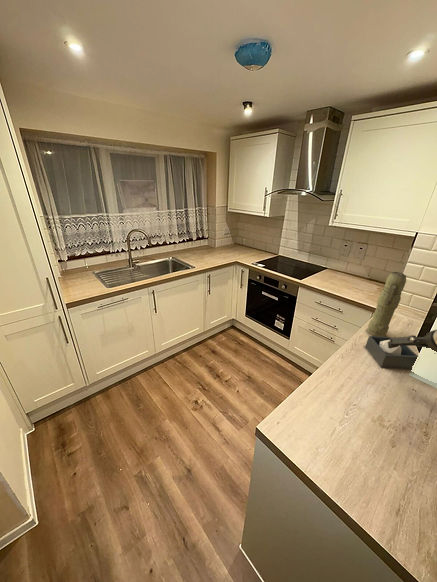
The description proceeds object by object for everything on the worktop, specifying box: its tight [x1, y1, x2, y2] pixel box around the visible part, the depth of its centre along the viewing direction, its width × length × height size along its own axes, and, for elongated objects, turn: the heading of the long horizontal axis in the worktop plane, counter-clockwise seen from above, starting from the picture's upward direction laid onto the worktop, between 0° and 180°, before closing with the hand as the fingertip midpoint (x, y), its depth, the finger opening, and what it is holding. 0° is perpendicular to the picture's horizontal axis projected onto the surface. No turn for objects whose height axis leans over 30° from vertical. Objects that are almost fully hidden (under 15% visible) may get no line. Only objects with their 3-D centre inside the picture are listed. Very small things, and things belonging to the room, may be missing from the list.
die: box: [379, 340, 402, 355], centre depth 109 cm, size 8×9×10 cm
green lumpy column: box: [366, 271, 407, 337], centre depth 121 cm, size 9×12×35 cm
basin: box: [364, 335, 419, 370], centre depth 109 cm, size 14×14×7 cm
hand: (407, 348), depth 97 cm, fingers open, 13 cm apart
